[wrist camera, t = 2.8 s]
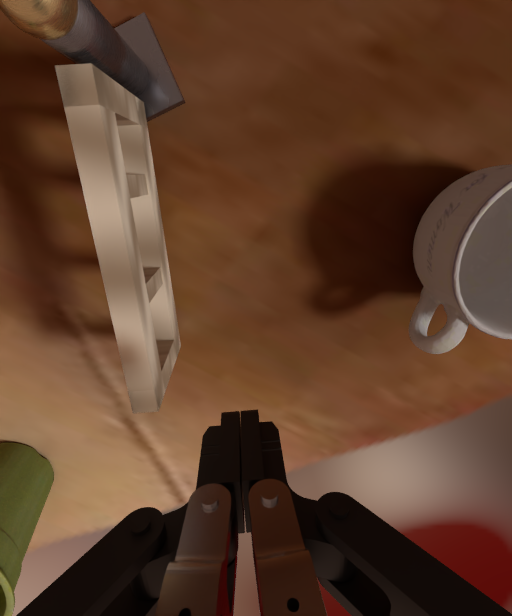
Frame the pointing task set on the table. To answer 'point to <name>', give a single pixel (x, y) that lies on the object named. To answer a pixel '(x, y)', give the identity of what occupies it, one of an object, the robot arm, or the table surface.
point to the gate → (124, 226)
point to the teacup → (466, 260)
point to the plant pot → (19, 511)
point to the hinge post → (102, 46)
